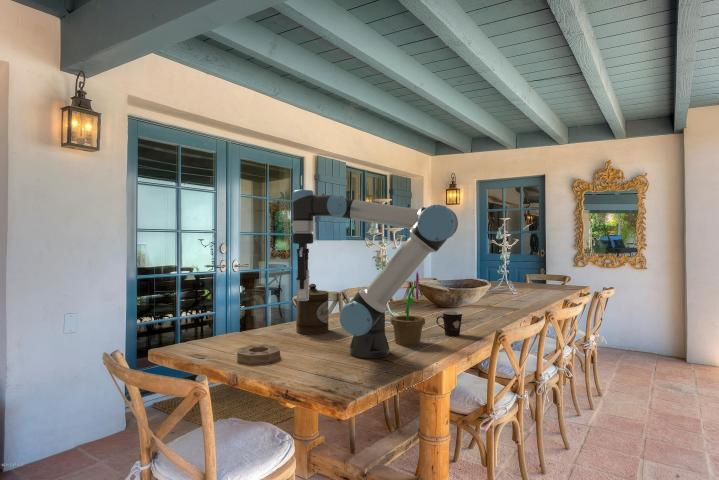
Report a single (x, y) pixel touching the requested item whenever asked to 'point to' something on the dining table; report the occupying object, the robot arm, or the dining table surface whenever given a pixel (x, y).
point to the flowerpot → (408, 323)
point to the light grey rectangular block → (306, 287)
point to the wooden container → (313, 313)
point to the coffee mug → (451, 323)
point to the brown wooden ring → (258, 354)
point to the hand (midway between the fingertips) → (303, 296)
